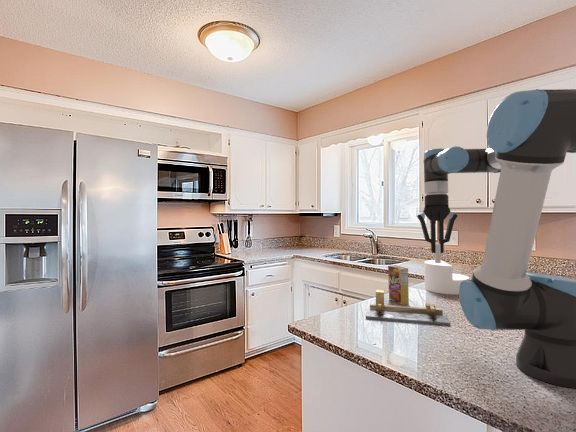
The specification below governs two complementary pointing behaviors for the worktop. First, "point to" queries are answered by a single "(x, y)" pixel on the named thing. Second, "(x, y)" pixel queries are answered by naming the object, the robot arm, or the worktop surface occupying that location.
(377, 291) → the jaw
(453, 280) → the container
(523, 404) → the worktop surface
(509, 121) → the robot arm
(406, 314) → the plate
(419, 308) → the beam
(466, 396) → the worktop surface
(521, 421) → the worktop surface
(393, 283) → the candy box
